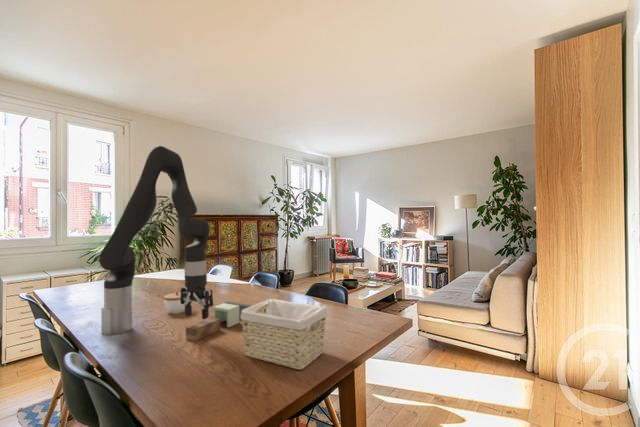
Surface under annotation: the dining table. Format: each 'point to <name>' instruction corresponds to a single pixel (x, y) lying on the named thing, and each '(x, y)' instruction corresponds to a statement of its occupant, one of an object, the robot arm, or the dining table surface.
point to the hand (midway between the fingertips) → (196, 317)
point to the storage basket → (284, 332)
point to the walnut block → (202, 328)
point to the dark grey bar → (241, 307)
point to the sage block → (227, 313)
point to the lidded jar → (174, 303)
